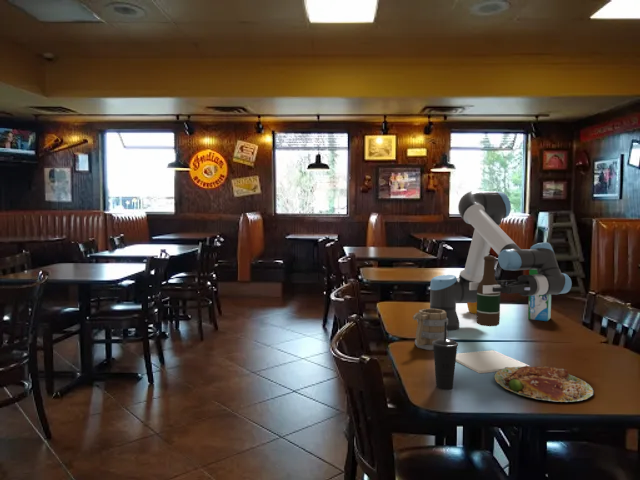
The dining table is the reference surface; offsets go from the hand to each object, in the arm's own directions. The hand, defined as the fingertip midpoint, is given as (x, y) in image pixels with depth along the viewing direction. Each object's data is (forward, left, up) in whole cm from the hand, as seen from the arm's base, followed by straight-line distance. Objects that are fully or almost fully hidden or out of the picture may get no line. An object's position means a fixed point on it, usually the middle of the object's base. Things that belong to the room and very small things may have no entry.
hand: (476, 287), depth 176 cm
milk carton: (-55, +75, -27) cm, 97 cm away
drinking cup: (+18, -23, -27) cm, 40 cm away
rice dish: (+26, +6, -27) cm, 38 cm away
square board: (0, +5, -27) cm, 27 cm away
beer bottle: (0, +5, -13) cm, 14 cm away
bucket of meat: (-75, +55, -27) cm, 97 cm away
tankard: (-23, -6, -27) cm, 36 cm away
